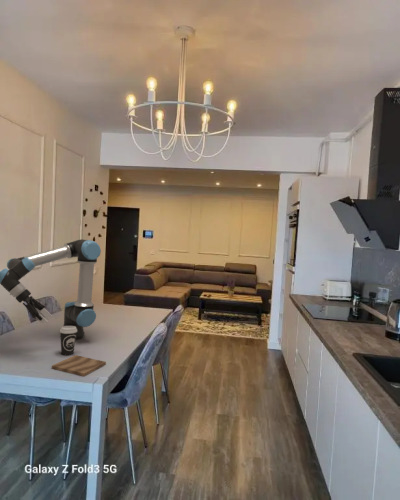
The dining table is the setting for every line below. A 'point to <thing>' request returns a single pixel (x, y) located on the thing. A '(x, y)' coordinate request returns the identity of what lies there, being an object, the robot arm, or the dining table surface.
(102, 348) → the dining table surface
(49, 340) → the dining table surface
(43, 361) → the dining table surface
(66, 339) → the coffee cup
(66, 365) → the wooden board
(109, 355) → the dining table surface
